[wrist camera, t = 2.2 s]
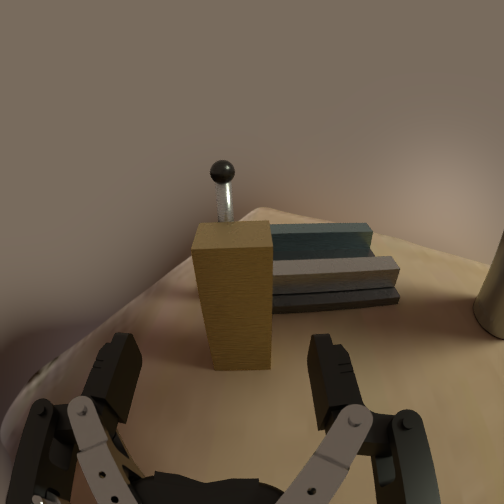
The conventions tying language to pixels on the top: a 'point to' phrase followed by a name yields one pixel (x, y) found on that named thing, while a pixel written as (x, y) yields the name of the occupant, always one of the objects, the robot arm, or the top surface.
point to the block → (236, 291)
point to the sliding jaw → (312, 270)
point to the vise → (326, 247)
